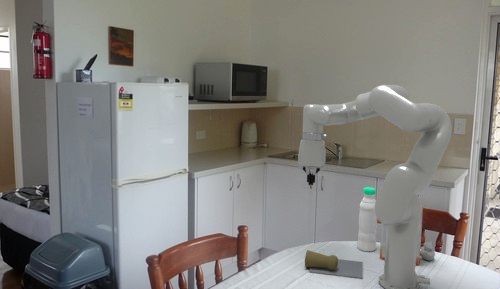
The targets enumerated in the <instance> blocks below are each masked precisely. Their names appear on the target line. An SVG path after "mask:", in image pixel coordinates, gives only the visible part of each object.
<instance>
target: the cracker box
mask: <svg viewBox="0 0 500 289" xmlns="http://www.w3.org/2000/svg"><path fill="white" fill-rule="evenodd" d="M423 208H424V207H423V206H422V212H421V217H420V221H419V227H418V236H417V248H416V263H415V266H419V265H420V259H421V256H420V251H421V247H422V246H421V245H422V228H423V210H424V209H423ZM380 223H381V222H380ZM380 225H381V227H380V241H379V242H380V243H379V244H380V246H379V259H381V260H385V246H386V231H387V225H384V224H382V223H381V224H380Z"/></svg>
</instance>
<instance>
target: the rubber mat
mask: <svg viewBox="0 0 500 289" xmlns="http://www.w3.org/2000/svg"><path fill="white" fill-rule="evenodd" d="M363 264H364V263H363V261H359V260H349V259H342V258H341V259H340V258H338V266H337V269H336V270H329V269H328V268H314V267H309V270H308V273H312V274H319V275H326V276H333V277H334V276H336V277H344V278H351V279H353V278H354V279H359V280H361V279H362V280H363V271H364V270H363V268H364V267H363Z"/></svg>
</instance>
